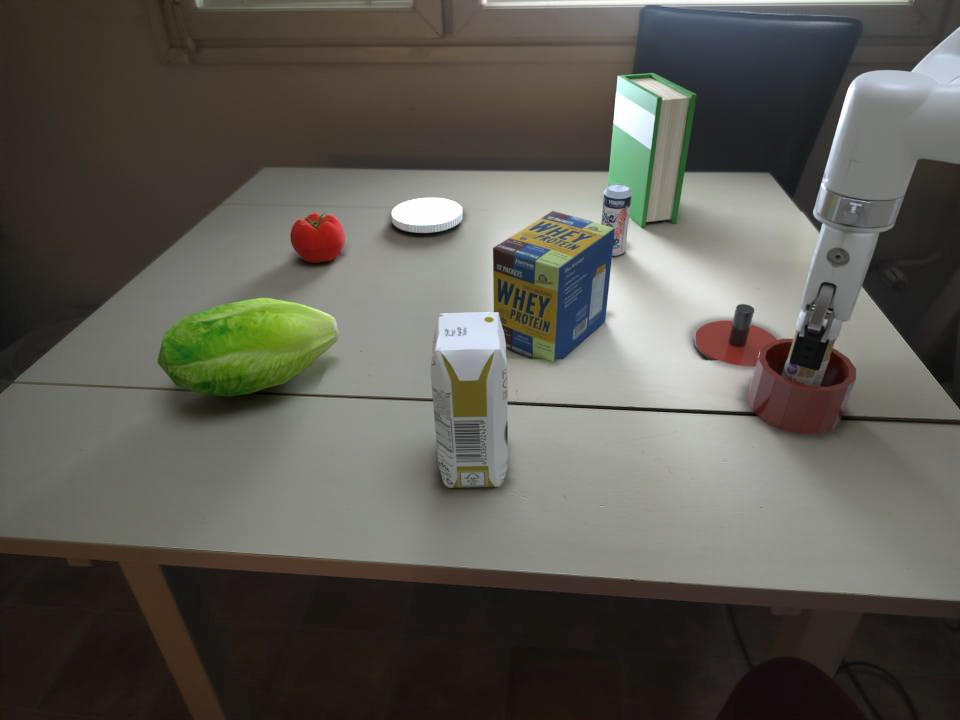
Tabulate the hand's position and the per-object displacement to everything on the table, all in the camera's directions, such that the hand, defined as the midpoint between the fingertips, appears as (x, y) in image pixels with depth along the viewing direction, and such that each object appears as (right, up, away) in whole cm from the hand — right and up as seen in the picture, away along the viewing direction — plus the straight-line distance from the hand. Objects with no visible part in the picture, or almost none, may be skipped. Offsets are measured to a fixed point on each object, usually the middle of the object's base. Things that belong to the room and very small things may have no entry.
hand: (810, 350), depth 78 cm
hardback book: (-6, +30, +59) cm, 66 cm away
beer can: (-15, +18, +43) cm, 49 cm away
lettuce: (-68, -4, +13) cm, 70 cm away
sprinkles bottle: (0, -7, +5) cm, 9 cm away
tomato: (-68, +18, +44) cm, 83 cm away
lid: (-2, +1, +17) cm, 17 cm away
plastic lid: (-49, +26, +55) cm, 78 cm away
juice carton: (-39, -14, -1) cm, 42 cm away
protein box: (-28, +3, +22) cm, 35 cm away
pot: (0, -8, +5) cm, 9 cm away
